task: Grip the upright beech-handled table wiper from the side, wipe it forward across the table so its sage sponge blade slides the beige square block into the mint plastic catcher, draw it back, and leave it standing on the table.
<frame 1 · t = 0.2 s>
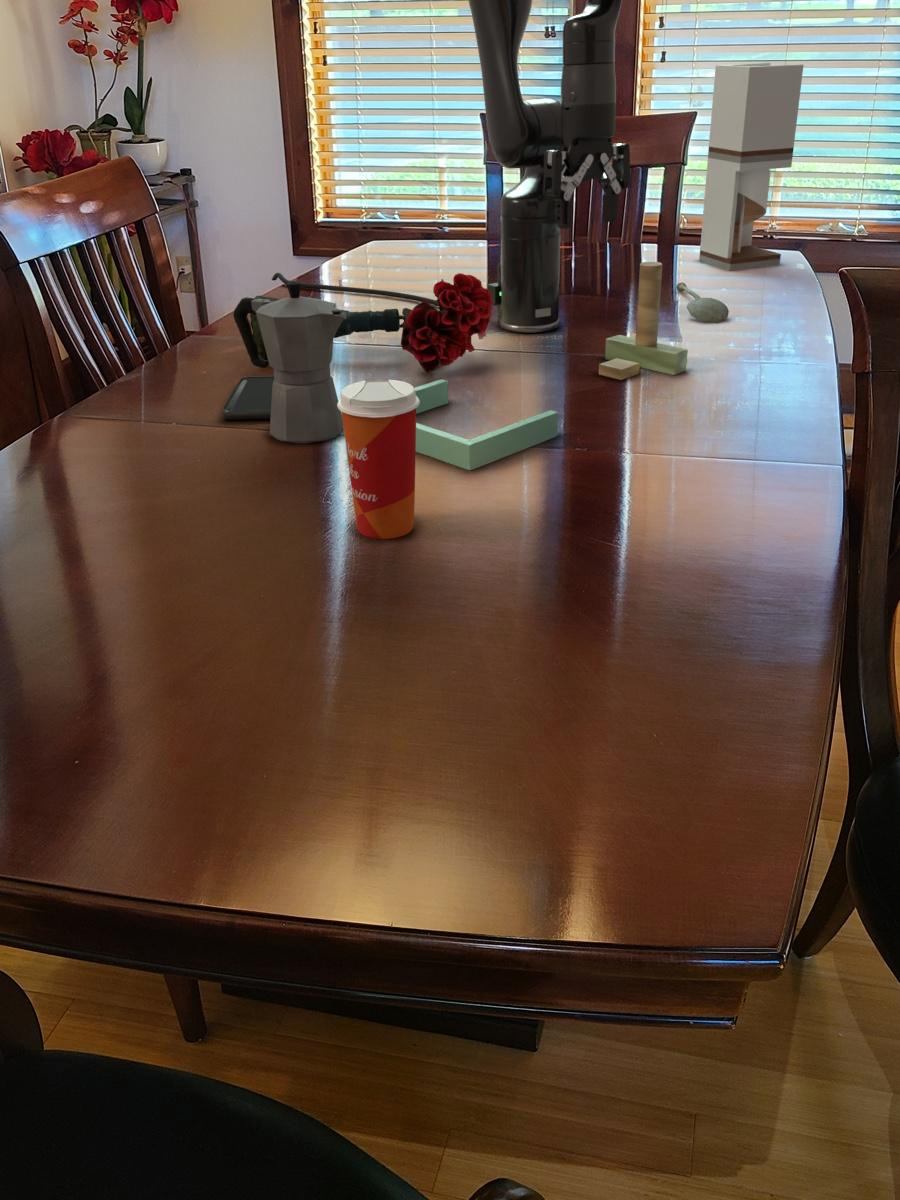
hand: (587, 224, 155), 17 cm above the table, tool pointing down, fingers open, 8 cm apart
soupspoon: (695, 307, 182), on the table
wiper: (644, 364, 153), on the table
white pillar: (738, 263, 212), on the table
phone: (262, 402, 142), on the table
paper cup: (385, 529, 107), on the table
catcher: (457, 432, 130), on the table
coffeepot: (300, 431, 132), on the table
carnation: (374, 363, 158), on the table
beige square block: (618, 374, 149), on the table
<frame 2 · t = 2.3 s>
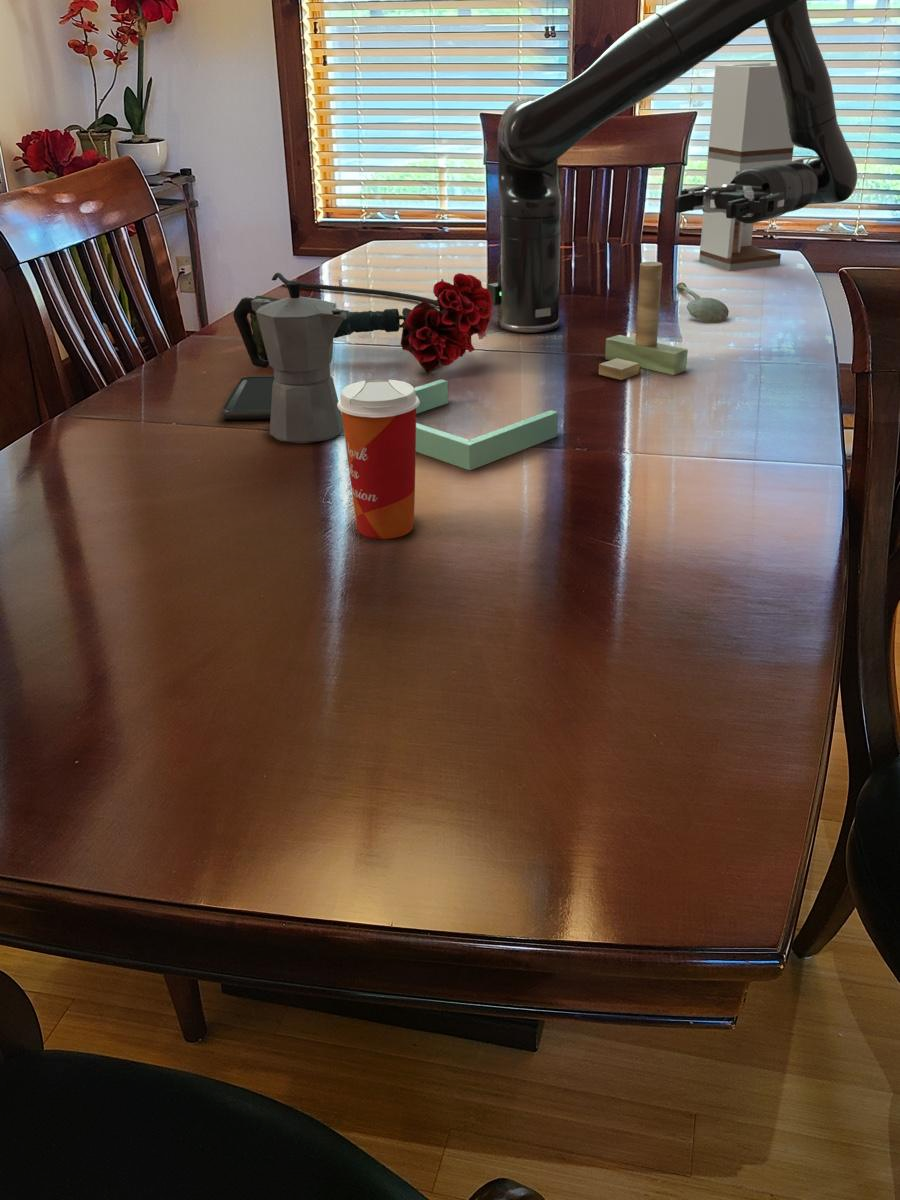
hand: (702, 207, 150), 20 cm above the table, tool horizontal, fingers open, 8 cm apart
nothing on the table moved.
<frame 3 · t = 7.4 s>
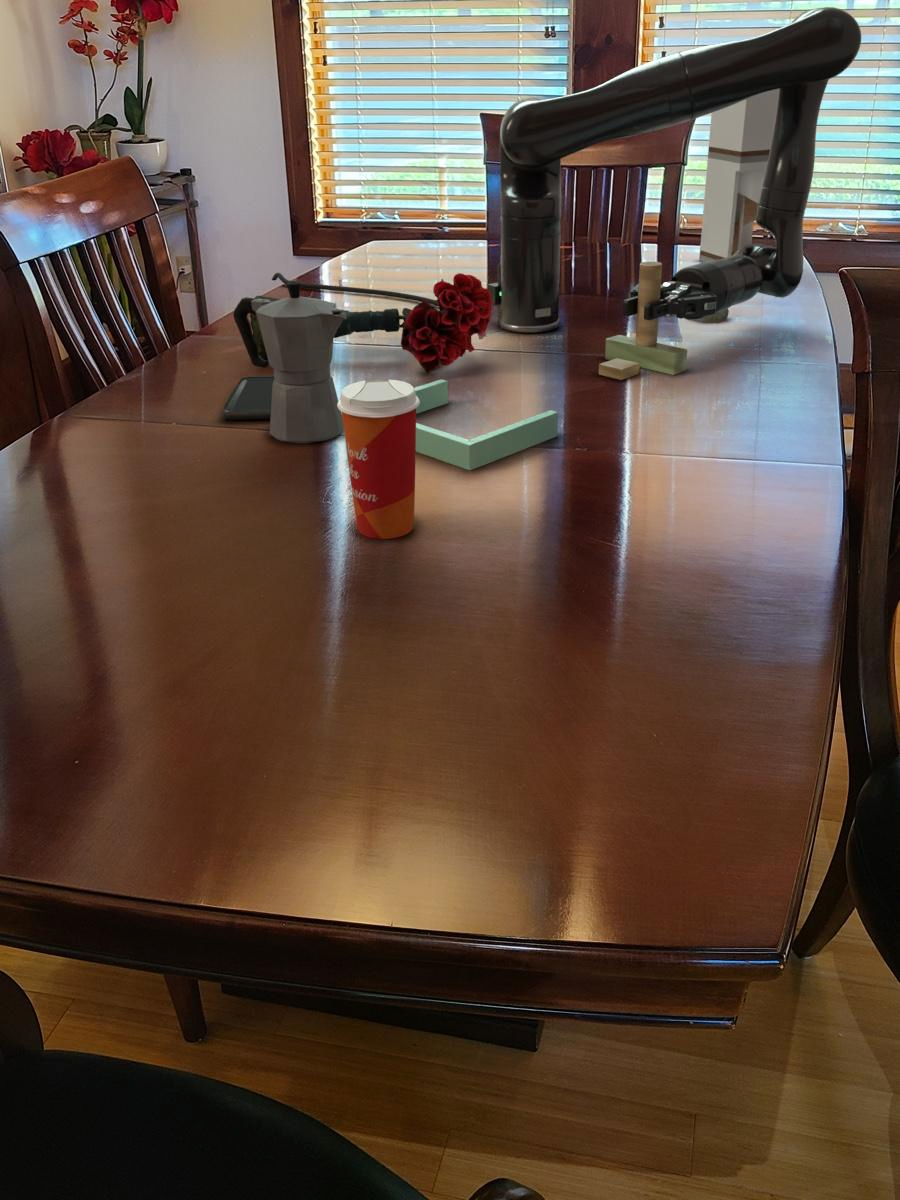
hand: (636, 310, 147), 8 cm above the table, tool horizontal, fingers closed on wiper, 3 cm apart
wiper: (644, 364, 153), on the table, touching gripper
everything else where it was.
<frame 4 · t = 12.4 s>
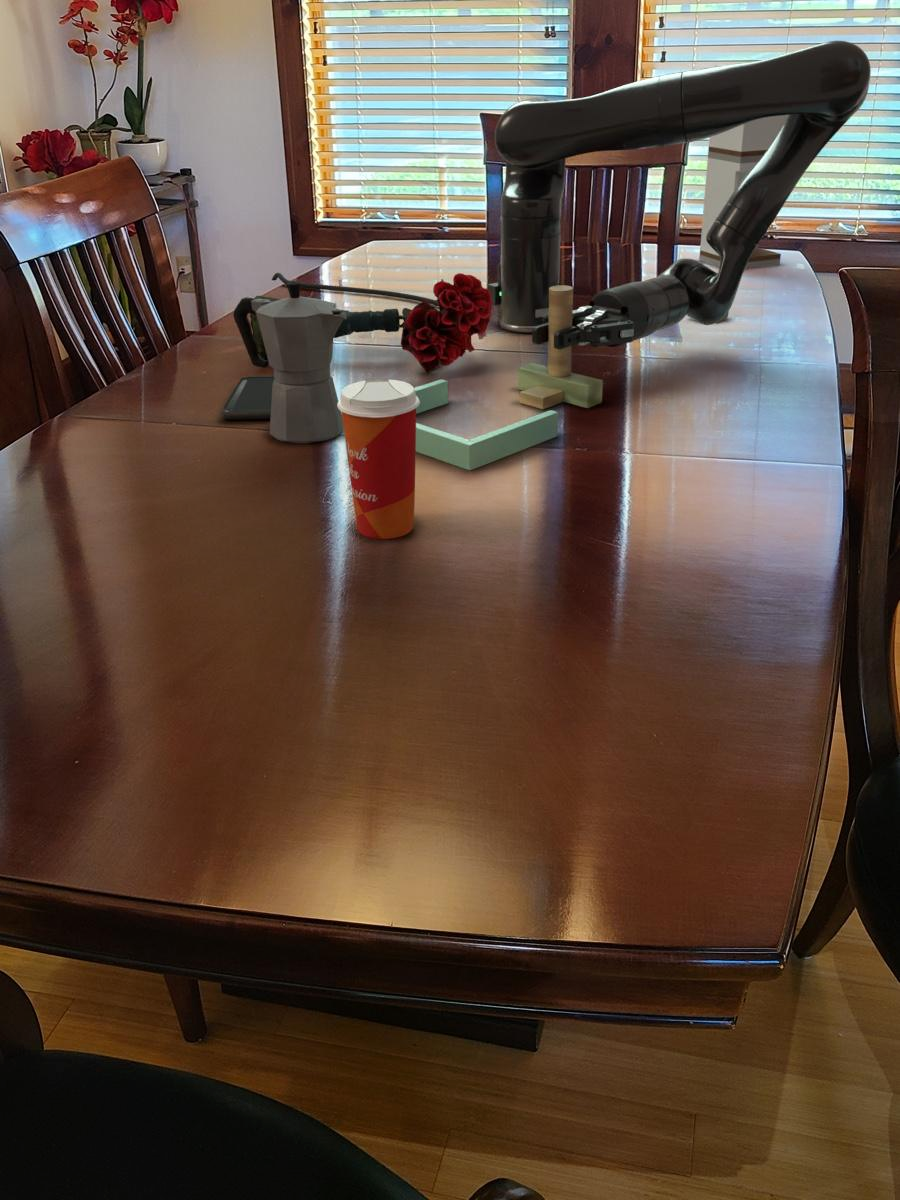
hand: (545, 338, 136), 8 cm above the table, tool horizontal, fingers closed on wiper, 3 cm apart
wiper: (558, 396, 141), on the table, touching gripper
beige square block: (541, 402, 139), on the table
everything else where it was.
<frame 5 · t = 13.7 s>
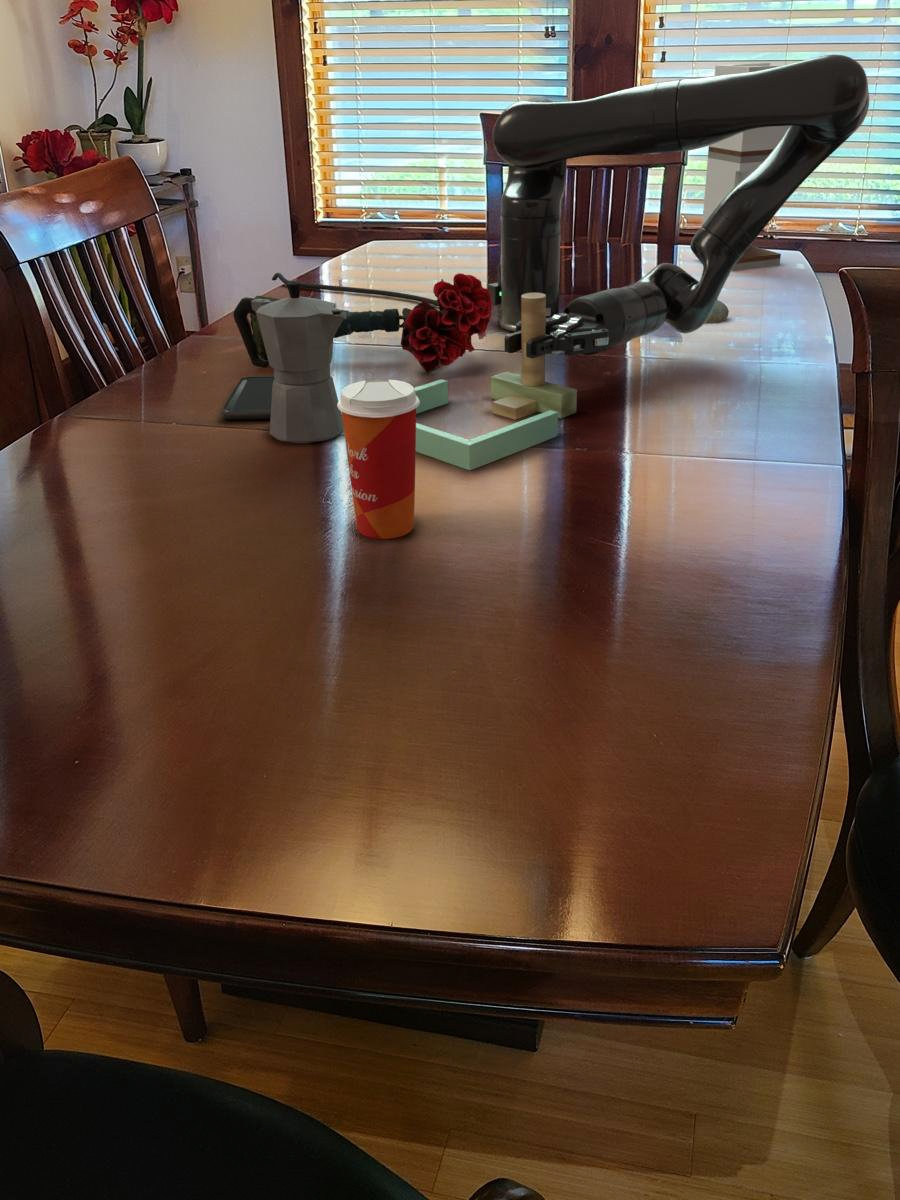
hand: (518, 347, 133), 8 cm above the table, tool horizontal, fingers closed on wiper, 3 cm apart
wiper: (532, 405, 138), on the table, touching gripper
beige square block: (514, 412, 136), on the table
everything else where it was.
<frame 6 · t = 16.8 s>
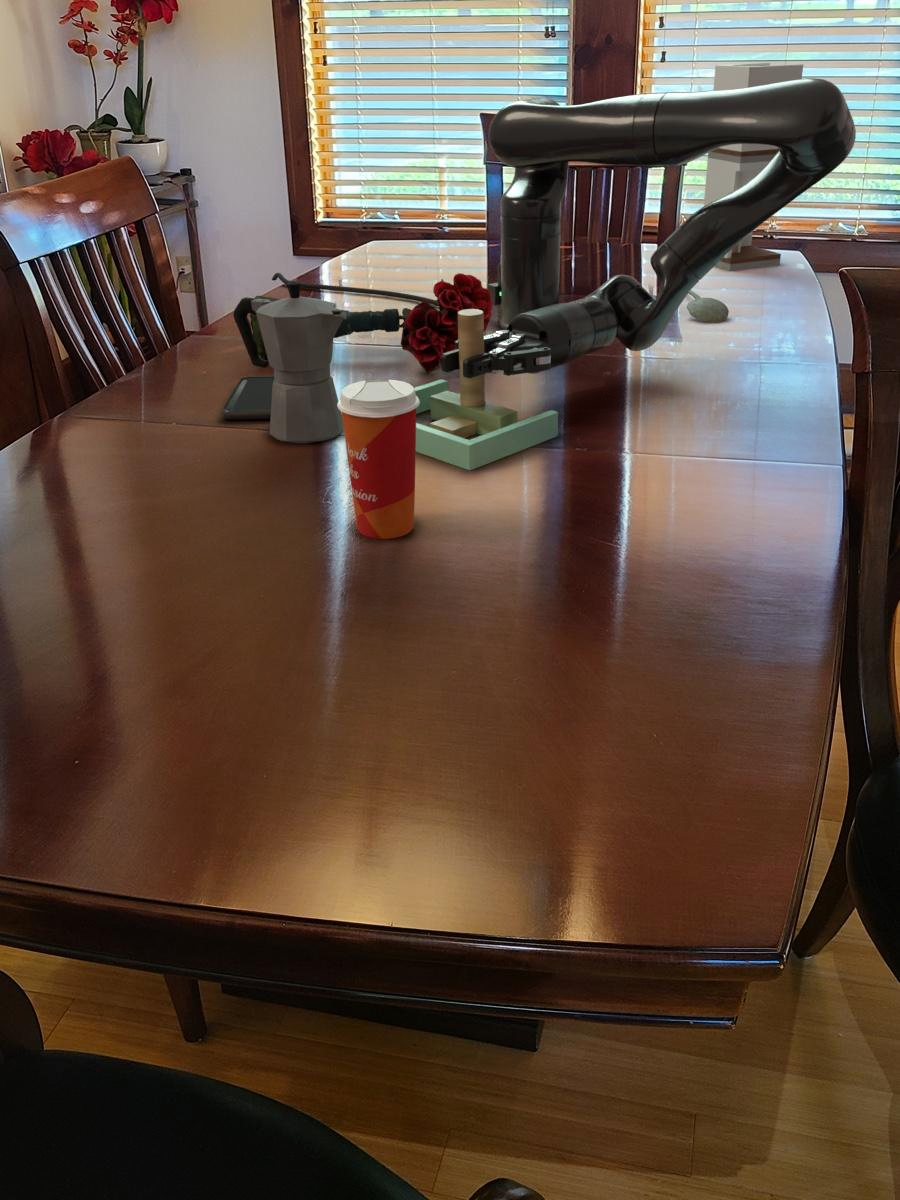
hand: (454, 366, 126), 8 cm above the table, tool horizontal, fingers closed on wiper, 3 cm apart
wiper: (473, 426, 132), on the table, touching beige square block, gripper
beige square block: (453, 434, 130), on the table, touching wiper
everything else where it was.
when the fingers open (8 cm above the table, at t = 20.4 s): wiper stays where it is, on the table.
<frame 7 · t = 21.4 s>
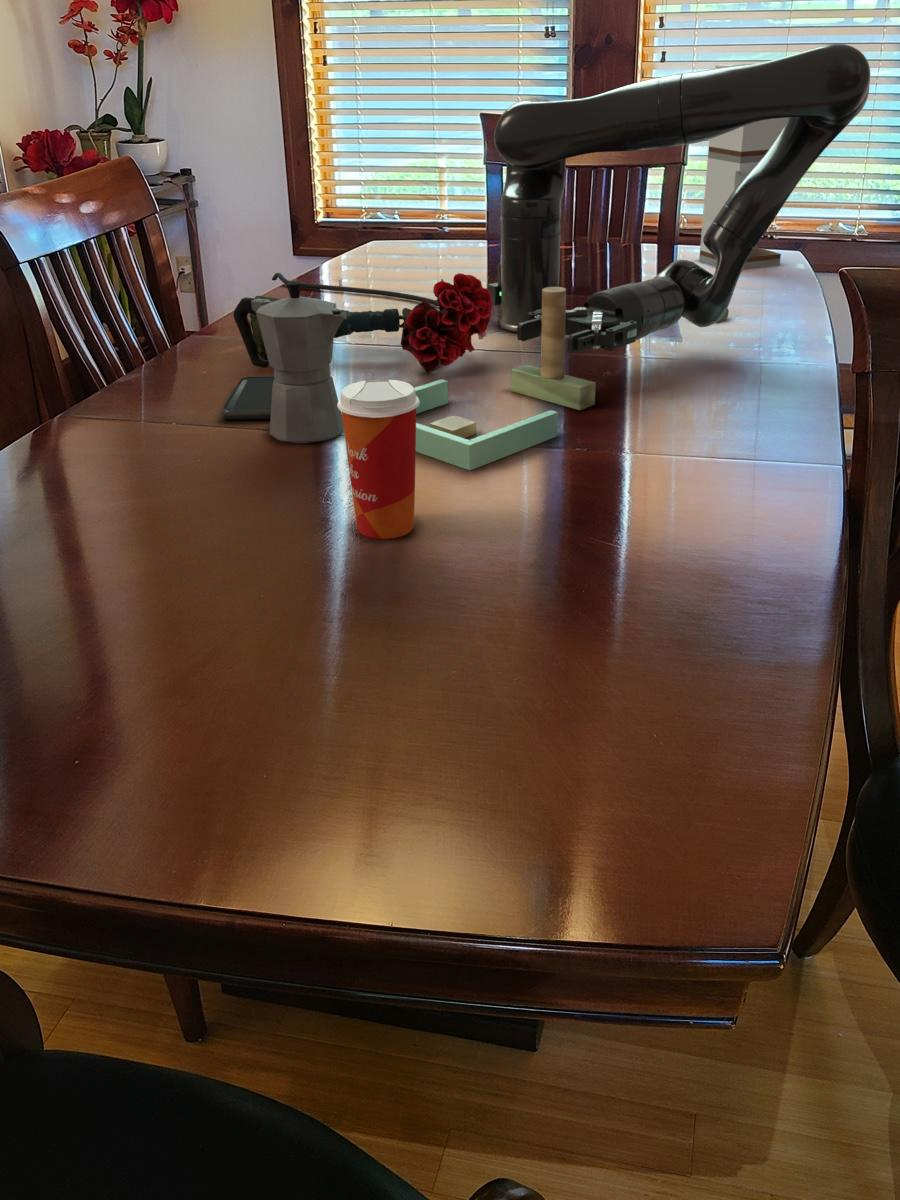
hand: (544, 338, 136), 8 cm above the table, tool horizontal, fingers open, 8 cm apart
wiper: (551, 397, 141), on the table
beige square block: (453, 434, 129), on the table
everything else where it was.
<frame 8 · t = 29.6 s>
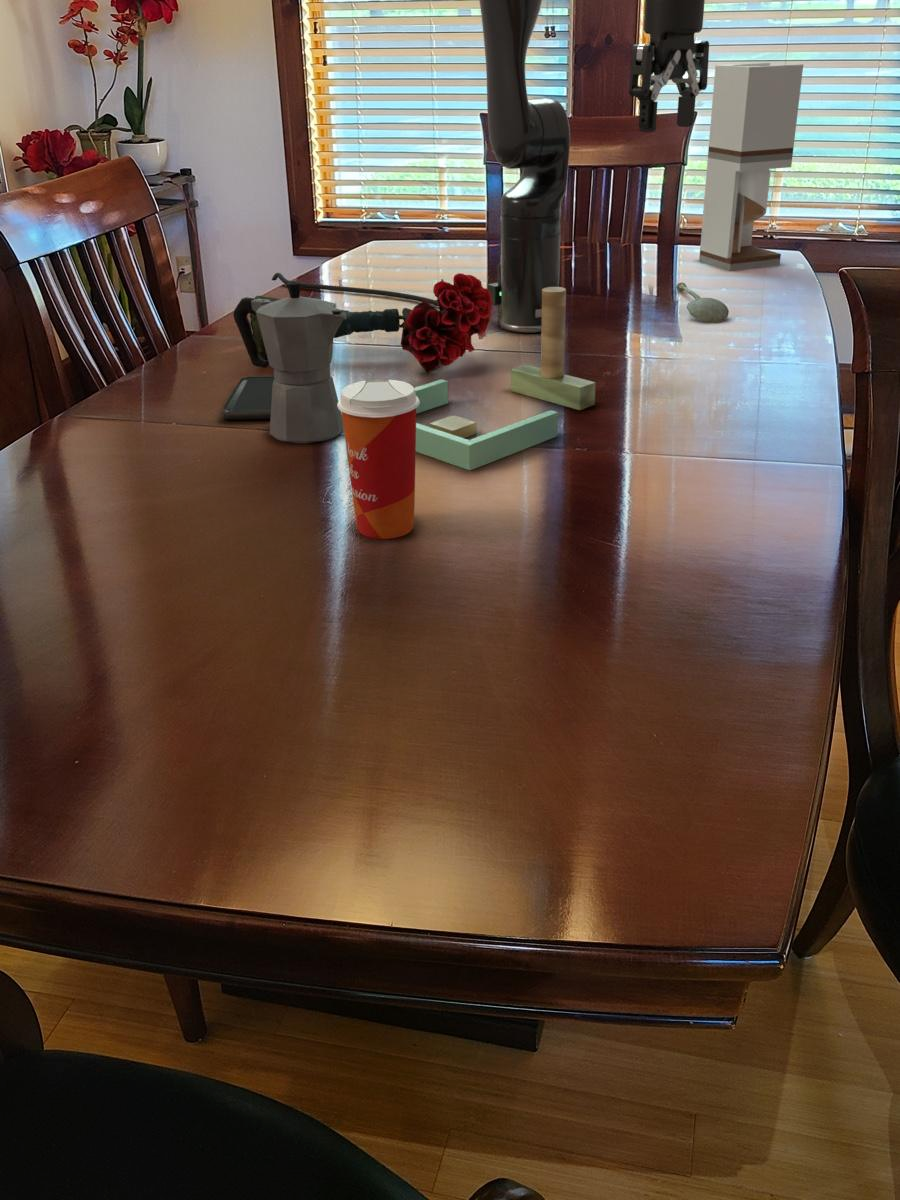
hand: (666, 129, 145), 30 cm above the table, tool pointing down, fingers open, 8 cm apart
nothing on the table moved.
at the end: beige square block 0.9 cm from the catcher (horizontally); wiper tilted 0°; the gripper is holding nothing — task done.
